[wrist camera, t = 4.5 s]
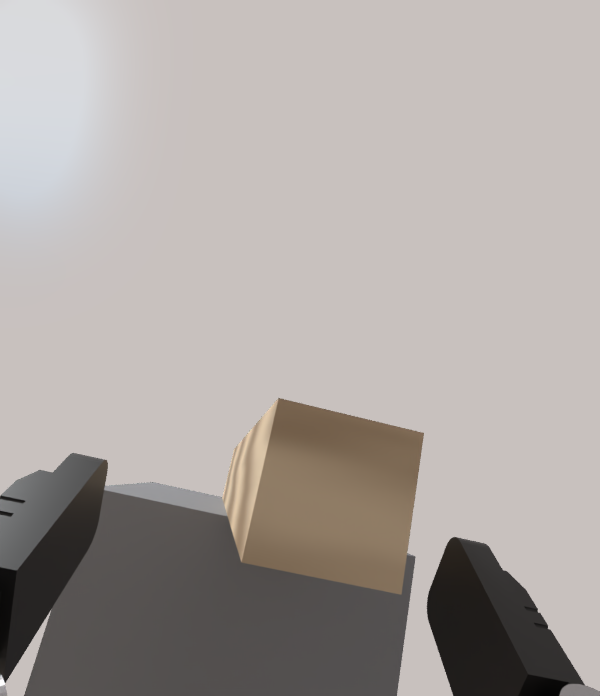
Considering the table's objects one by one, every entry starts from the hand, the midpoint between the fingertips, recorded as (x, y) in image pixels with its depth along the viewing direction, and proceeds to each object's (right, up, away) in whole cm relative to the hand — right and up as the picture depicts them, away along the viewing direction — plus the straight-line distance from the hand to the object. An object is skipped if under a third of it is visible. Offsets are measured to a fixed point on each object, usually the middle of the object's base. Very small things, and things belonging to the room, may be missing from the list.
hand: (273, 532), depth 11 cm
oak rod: (-1, -3, +8) cm, 9 cm away
